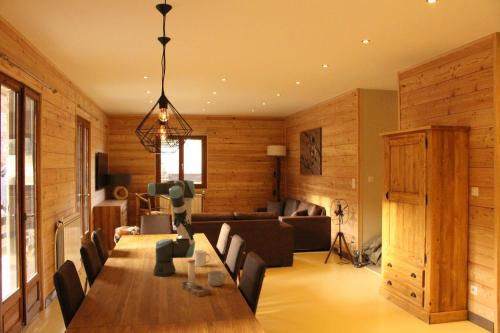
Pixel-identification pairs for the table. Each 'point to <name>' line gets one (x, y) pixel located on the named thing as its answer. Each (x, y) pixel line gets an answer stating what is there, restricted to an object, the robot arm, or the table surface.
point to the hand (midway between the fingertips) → (186, 239)
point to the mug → (200, 258)
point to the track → (196, 289)
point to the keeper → (191, 274)
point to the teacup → (216, 278)
